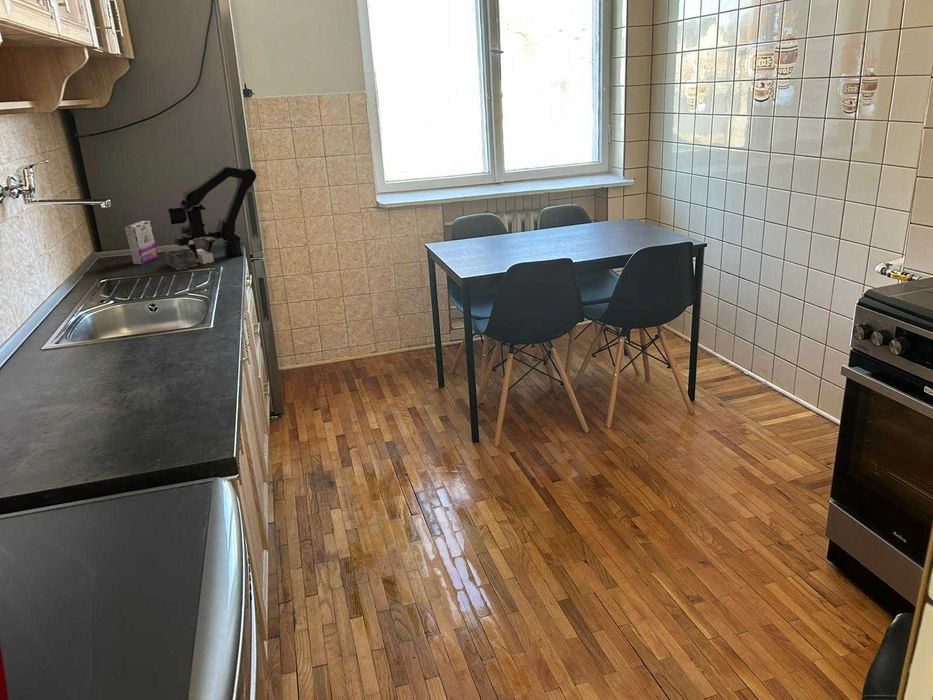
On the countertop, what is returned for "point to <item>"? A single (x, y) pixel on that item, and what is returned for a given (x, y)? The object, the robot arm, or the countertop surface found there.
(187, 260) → the dark grey angular piece
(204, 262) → the clay block
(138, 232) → the candy bar box
